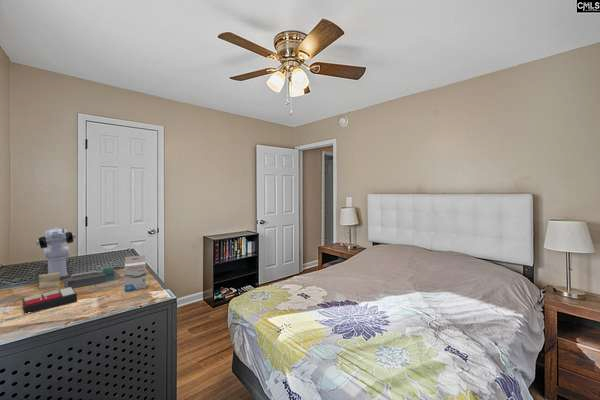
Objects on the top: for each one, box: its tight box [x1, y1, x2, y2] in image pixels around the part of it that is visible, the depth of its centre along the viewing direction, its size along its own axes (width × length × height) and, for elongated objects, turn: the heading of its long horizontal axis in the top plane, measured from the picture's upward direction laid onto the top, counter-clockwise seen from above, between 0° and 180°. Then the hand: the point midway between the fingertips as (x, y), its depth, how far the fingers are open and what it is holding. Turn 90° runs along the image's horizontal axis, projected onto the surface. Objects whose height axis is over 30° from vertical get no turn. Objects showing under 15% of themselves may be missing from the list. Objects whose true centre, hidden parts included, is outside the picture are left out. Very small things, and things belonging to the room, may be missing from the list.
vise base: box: [63, 270, 123, 289], centre depth 134 cm, size 19×22×4 cm
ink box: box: [124, 254, 147, 292], centre depth 123 cm, size 8×5×15 cm, turn 123°
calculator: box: [21, 287, 78, 314], centre depth 106 cm, size 11×4×15 cm
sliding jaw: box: [71, 265, 115, 279], centre depth 138 cm, size 3×18×4 cm, turn 134°
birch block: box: [38, 272, 61, 290], centre depth 124 cm, size 4×7×6 cm, turn 134°
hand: (56, 242), depth 126 cm, fingers open, 7 cm apart
